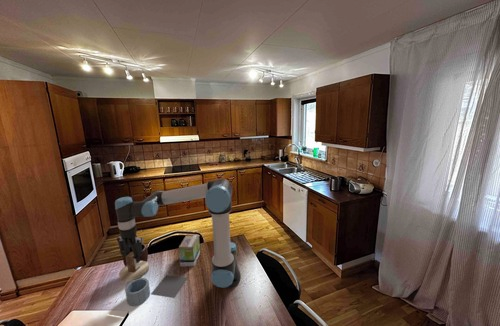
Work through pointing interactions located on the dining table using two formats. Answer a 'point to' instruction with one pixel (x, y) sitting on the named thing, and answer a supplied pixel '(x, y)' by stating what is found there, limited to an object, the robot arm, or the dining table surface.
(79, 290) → the dining table surface
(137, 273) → the lid
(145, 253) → the mate gourd
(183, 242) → the tea box
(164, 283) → the mat
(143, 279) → the bowl
